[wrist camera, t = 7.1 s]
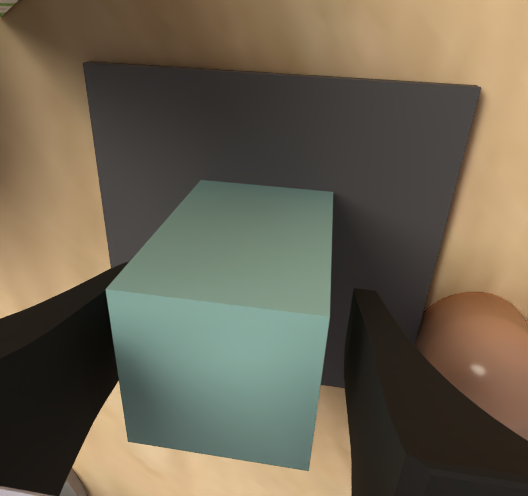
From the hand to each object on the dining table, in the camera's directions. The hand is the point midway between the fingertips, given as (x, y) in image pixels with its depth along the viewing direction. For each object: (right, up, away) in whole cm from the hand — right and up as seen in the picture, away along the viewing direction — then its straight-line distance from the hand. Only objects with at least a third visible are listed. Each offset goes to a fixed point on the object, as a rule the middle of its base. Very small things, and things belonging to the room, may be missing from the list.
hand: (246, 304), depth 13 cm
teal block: (0, +2, +3) cm, 3 cm away
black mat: (+1, +2, +3) cm, 4 cm away
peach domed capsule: (+8, -2, +4) cm, 9 cm away
